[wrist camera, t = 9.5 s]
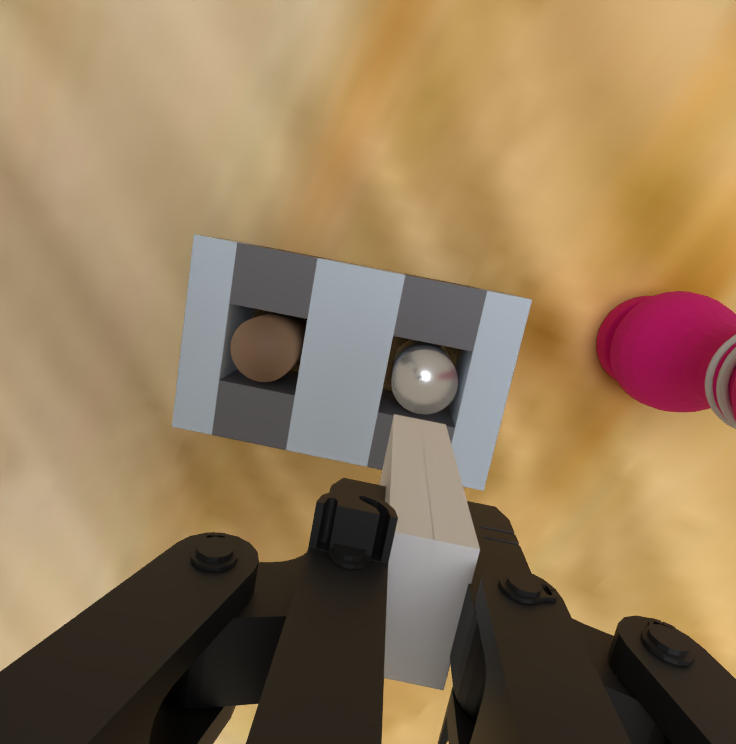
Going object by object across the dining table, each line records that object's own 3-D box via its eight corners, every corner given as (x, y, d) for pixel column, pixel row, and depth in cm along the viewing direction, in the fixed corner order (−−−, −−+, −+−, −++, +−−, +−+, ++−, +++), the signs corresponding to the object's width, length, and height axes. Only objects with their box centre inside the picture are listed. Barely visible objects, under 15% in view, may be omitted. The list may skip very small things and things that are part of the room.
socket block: (206, 402, 39) (172, 426, 33) (227, 239, 36) (193, 234, 31) (471, 456, 38) (483, 490, 32) (511, 294, 36) (531, 299, 30)
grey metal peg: (388, 386, 38) (385, 407, 32) (399, 331, 37) (398, 343, 31) (443, 397, 37) (450, 420, 32) (455, 342, 37) (464, 356, 31)
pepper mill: (656, 410, 37) (944, 574, 17) (567, 361, 36) (756, 471, 17) (719, 320, 35) (1112, 387, 16) (626, 269, 35) (908, 271, 15)
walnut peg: (253, 358, 38) (226, 375, 32) (261, 304, 37) (235, 311, 31) (307, 369, 38) (289, 387, 32) (316, 315, 37) (300, 324, 31)
